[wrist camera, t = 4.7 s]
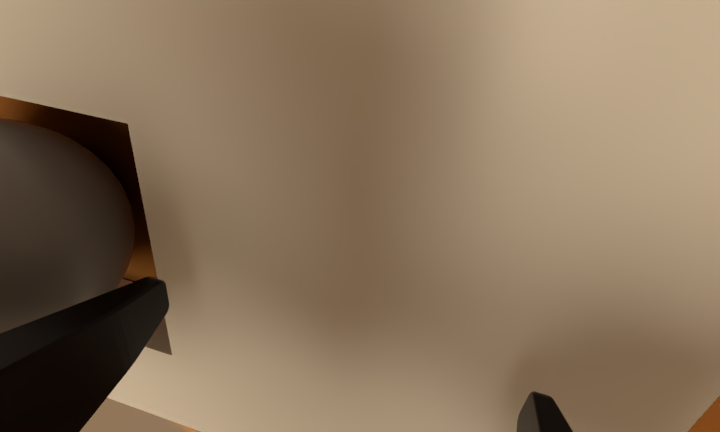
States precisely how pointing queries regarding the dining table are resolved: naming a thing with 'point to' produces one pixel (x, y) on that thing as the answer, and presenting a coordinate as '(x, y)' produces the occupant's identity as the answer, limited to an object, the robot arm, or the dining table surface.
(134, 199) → the dining table surface
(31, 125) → the ball
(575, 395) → the deck
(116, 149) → the dining table surface
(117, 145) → the dining table surface
